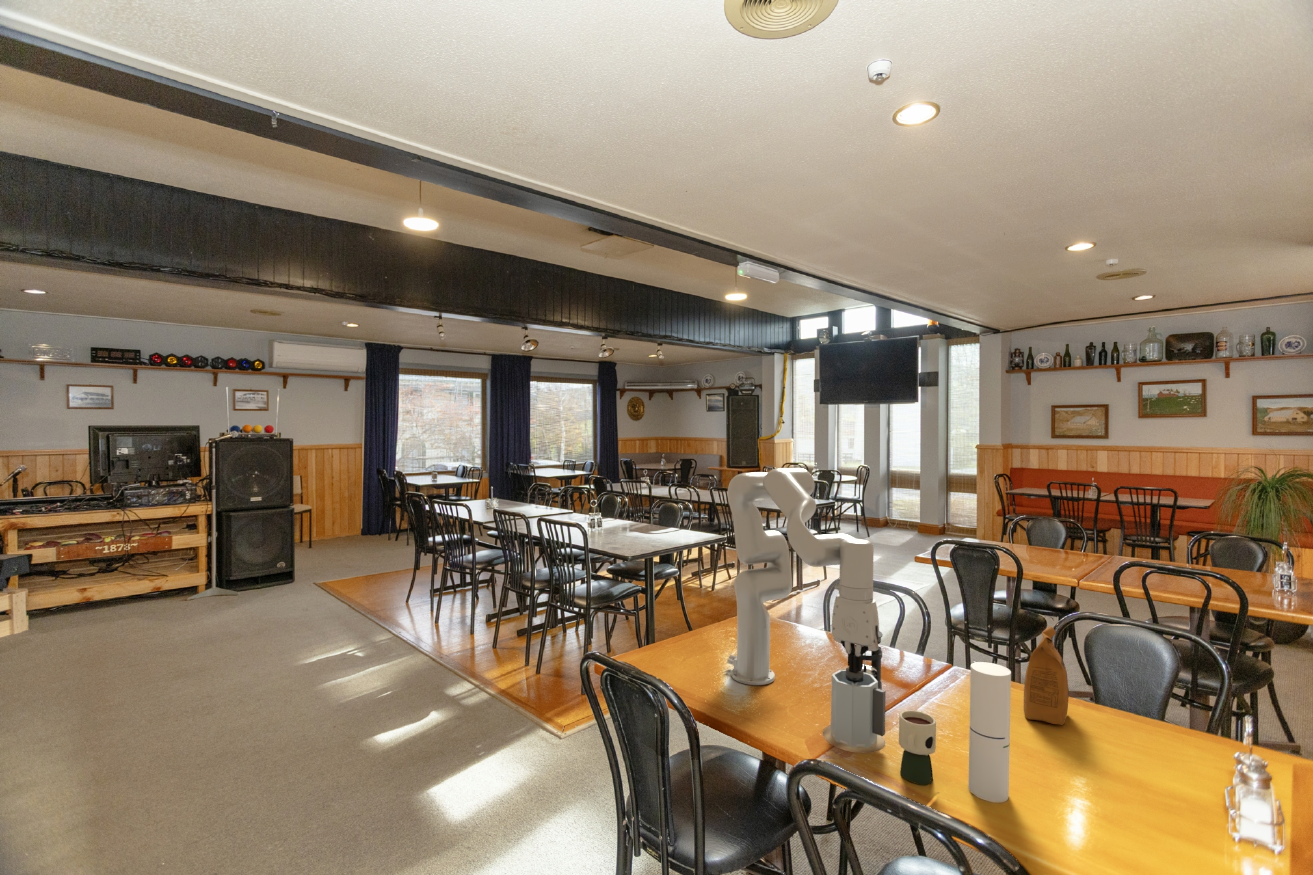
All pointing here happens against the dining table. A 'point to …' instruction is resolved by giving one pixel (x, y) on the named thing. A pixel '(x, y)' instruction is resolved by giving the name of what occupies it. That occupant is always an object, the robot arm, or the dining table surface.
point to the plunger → (854, 676)
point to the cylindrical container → (989, 731)
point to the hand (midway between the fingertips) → (855, 670)
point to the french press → (874, 663)
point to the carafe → (857, 711)
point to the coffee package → (1046, 683)
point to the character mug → (917, 745)
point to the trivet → (874, 748)
